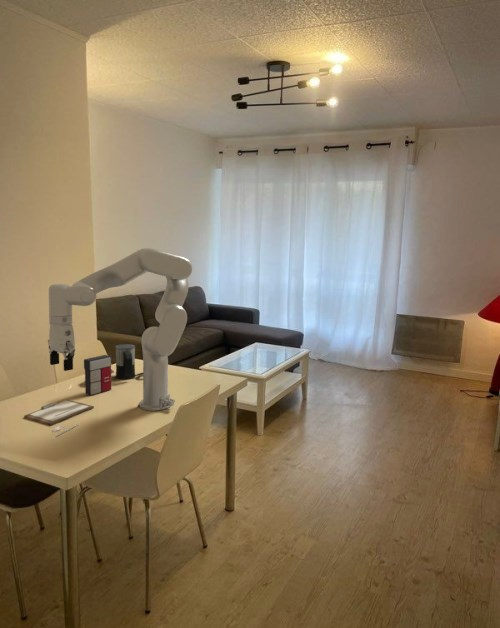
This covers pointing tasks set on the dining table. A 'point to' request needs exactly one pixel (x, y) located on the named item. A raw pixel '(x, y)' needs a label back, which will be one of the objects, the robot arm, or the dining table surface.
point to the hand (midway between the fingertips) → (61, 367)
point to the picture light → (64, 430)
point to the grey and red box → (97, 374)
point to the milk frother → (125, 361)
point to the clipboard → (58, 412)
